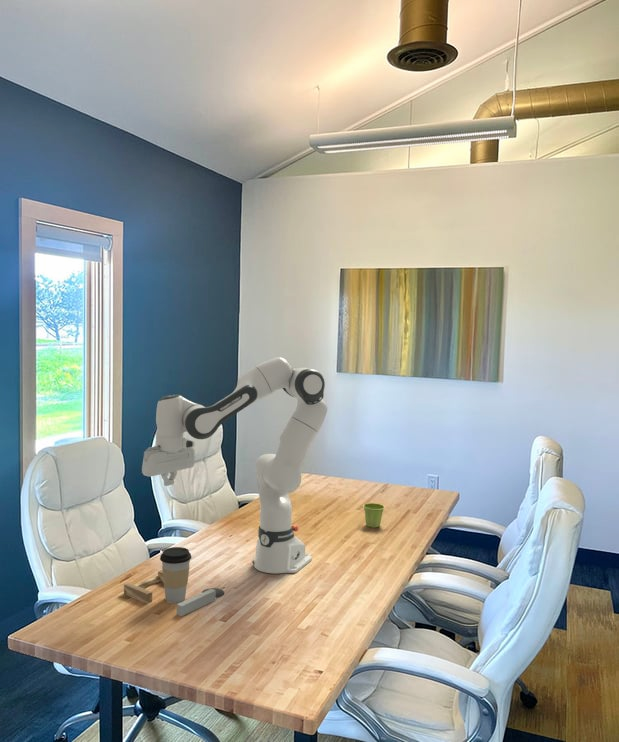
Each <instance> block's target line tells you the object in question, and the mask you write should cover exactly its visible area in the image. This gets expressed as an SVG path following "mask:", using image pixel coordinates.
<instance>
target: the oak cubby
mask: <svg viewBox="0 0 619 742" xmlns="http://www.w3.org/2000/svg"><path fill="white" fill-rule="evenodd" d="M159 581H160V582H161V581H162V582H161V583H163V571H162V569H161V570H158V571H157V575H156V576H154V577H152V578H149V579H147V580H143V581H141V582H139V583H136V584H133V583H130V582H127V583H124V584H123V594H124V595H125V594H126V596H128V597H131V598H133V599H135V600H137V601H139V602H142V603H144V604H147V605H148V604H150V603H152V602H153V591H150V590H148V589H145V588H147V587H149V586H152V585H155V584H157V583H159ZM156 582H157V583H156ZM154 583H155V584H154Z"/></svg>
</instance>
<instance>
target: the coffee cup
mask: <svg viewBox="0 0 619 742" xmlns="http://www.w3.org/2000/svg"><path fill="white" fill-rule="evenodd" d="M191 559H192V554H191V552H190V550H189V549H188V548H186V547H182V546H181V547H179V546H173V547H169V548H166V549H164V550H162V553H161V554H160V557H159V560H160V562H161V564H162V565H161V567H162V568H161V570H162V571H163V582H162V583H163V586H164V587H163V589H164V598H165V599H164V600H165V601H166V602H167V603H169V604H179V603H181V602H183V601H185V600H186V594H187V586H188V583H189V574H190V573H189V572H190V561H191Z"/></svg>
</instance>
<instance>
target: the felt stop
mask: <svg viewBox="0 0 619 742" xmlns="http://www.w3.org/2000/svg"><path fill="white" fill-rule="evenodd" d="M209 589H210V588H209ZM214 601H216V590H213V589H210V590H207V591H205V592H203V593H202V592H201V593H198V594H197V595H195V596H193V597H190V598H188V599H185V600H184V601H182V602H179V603H176V615H177V614H178V616H180V617H183V616H186V615H187V613H188V614H190V613H191V612H194V611H196V610H198V609H200V608H201V607H204V606H206V605H208V604H210V603H212V602H214Z"/></svg>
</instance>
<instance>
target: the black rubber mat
mask: <svg viewBox="0 0 619 742" xmlns="http://www.w3.org/2000/svg"><path fill="white" fill-rule="evenodd" d="M210 589H213V590H216V598H220V597H222V596H224V594H225V591H224V590H223V589H221V588H218V587H217V588H216V587H215V588H214V587H213V588H212V587H211V588H206V589H204V590H202V592H201V593H203V592H205V591H207V590H210Z"/></svg>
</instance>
